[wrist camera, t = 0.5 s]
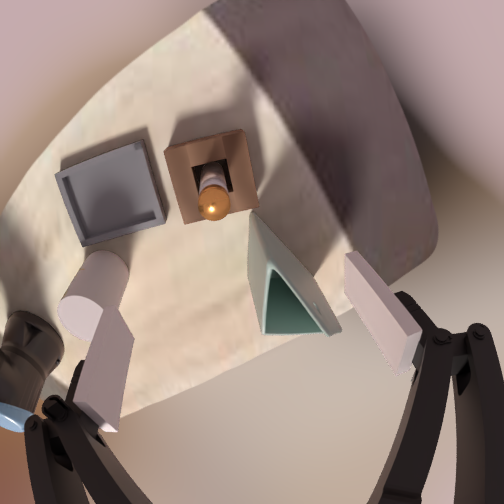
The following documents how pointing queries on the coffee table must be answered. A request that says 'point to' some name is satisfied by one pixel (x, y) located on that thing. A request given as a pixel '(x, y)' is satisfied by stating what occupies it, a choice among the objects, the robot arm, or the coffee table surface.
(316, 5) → the coffee table surface
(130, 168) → the tray
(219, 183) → the pin
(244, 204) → the block
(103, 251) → the white cylinder
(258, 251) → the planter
